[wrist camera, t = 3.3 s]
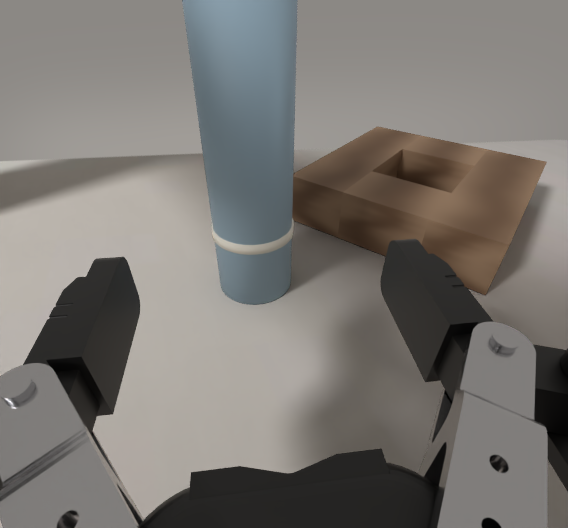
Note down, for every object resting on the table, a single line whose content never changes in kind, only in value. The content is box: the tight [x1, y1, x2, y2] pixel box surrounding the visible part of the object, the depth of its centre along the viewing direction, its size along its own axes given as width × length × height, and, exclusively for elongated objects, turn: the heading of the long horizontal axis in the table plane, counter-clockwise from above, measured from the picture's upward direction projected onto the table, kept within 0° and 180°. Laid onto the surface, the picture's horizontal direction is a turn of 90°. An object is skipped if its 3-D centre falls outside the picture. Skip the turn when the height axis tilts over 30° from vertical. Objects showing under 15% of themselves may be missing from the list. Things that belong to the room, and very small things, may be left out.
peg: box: [182, 0, 297, 305], centre depth 20 cm, size 5×5×16 cm
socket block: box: [292, 127, 546, 295], centre depth 31 cm, size 16×16×4 cm
